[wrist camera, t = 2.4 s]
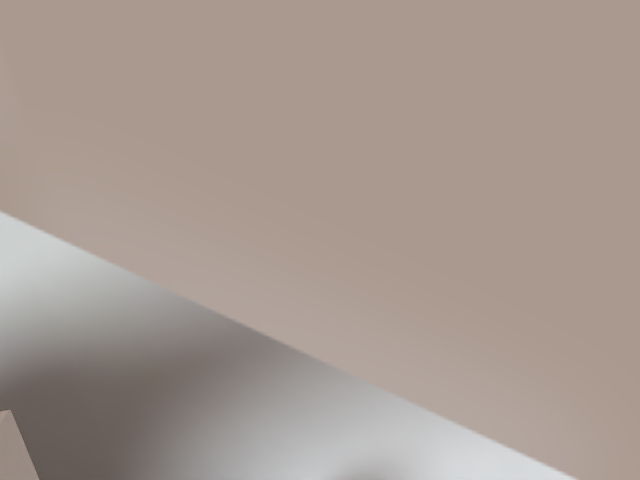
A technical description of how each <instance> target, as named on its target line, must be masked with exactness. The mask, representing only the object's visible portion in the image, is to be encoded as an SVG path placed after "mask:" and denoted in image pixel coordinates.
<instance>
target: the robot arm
mask: <svg viewBox="0 0 640 480" xmlns="http://www.w3.org/2000/svg"><path fill="white" fill-rule="evenodd" d="M0 480H39V477H38V475H37V473H36V470H35V468H34V465H33V463H32V460H31V458H30V456H29V453H28V451H27V448H26V446H25V443H24V441H23V438H22V436H21V434H20V431H19V429H18V426H17V424H16V421H15V419H14V417H13V414H12V412H11V409H10V410H5V411H0Z"/></svg>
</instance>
